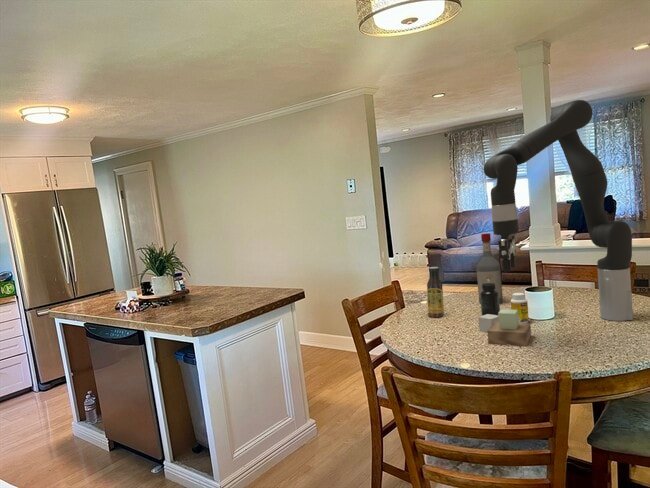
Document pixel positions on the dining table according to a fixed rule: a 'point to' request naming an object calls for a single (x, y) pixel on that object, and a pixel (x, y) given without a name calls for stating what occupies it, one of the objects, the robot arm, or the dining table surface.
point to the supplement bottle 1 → (489, 299)
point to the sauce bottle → (435, 294)
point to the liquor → (488, 268)
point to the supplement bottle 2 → (520, 306)
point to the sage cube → (508, 319)
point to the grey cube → (487, 321)
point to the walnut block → (509, 334)
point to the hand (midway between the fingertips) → (509, 269)
